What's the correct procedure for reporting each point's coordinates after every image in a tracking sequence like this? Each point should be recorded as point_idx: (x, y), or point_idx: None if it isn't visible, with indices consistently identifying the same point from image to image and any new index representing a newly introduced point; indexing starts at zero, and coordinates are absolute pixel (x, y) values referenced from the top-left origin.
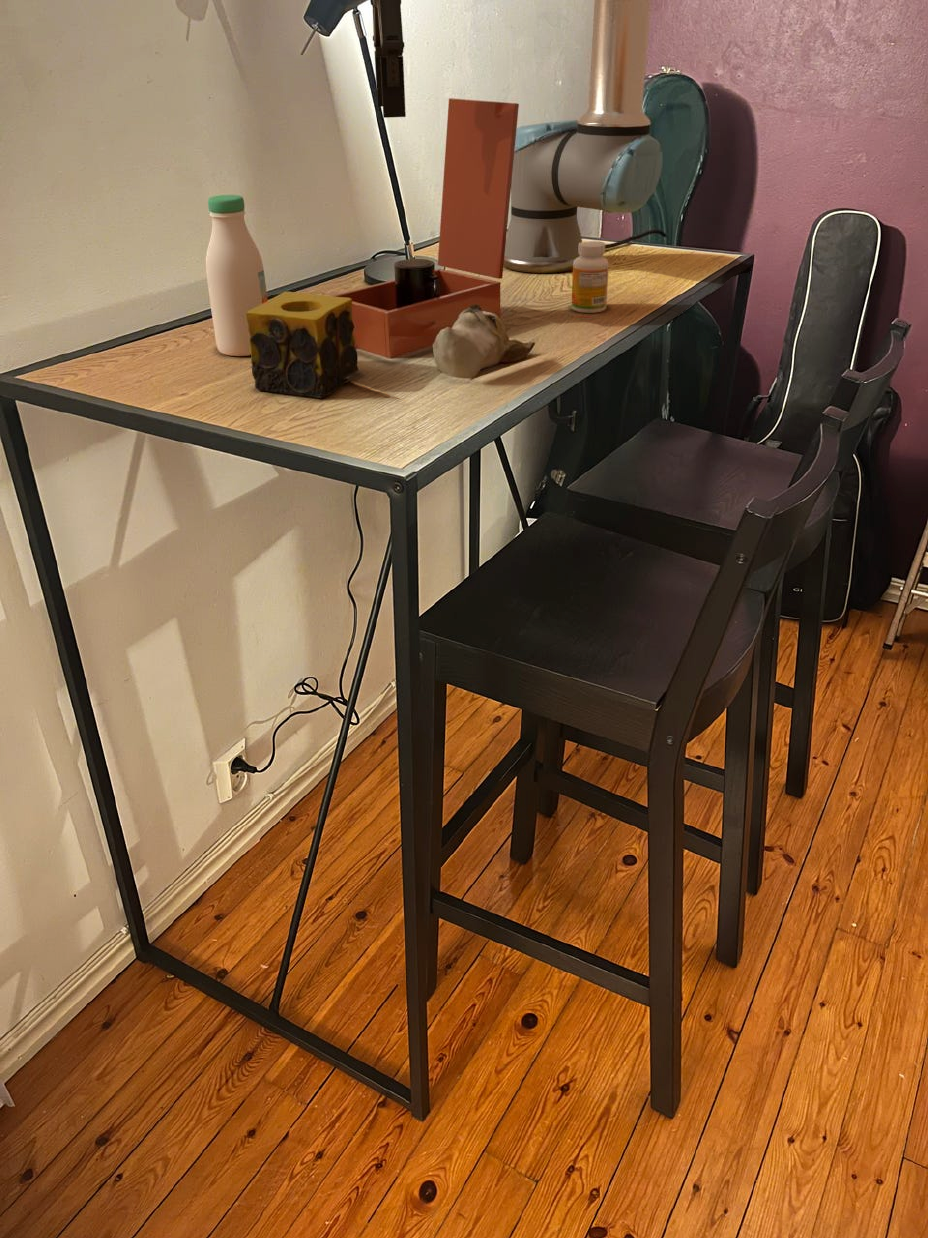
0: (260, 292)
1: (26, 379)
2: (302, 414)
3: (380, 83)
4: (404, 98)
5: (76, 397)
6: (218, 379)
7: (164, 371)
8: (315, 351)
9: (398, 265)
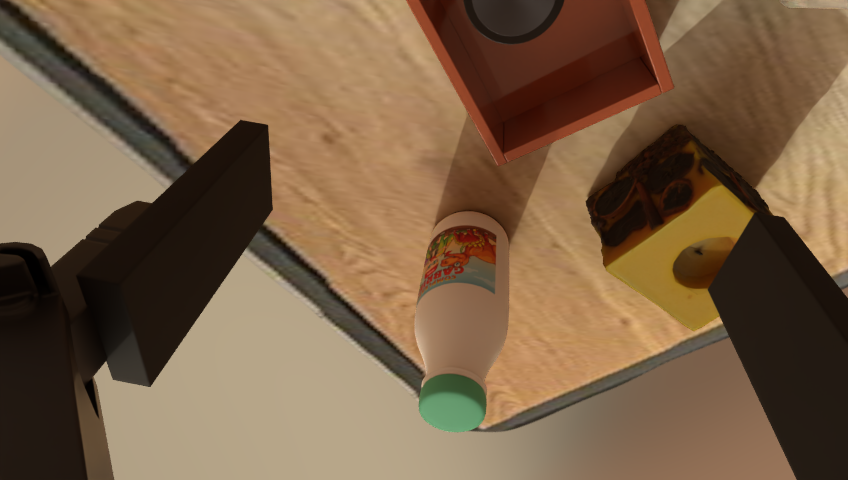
0: (496, 273)
1: (493, 423)
2: (793, 223)
3: (231, 250)
4: (822, 267)
5: (575, 397)
6: (587, 285)
7: (524, 328)
8: None
9: (518, 37)
